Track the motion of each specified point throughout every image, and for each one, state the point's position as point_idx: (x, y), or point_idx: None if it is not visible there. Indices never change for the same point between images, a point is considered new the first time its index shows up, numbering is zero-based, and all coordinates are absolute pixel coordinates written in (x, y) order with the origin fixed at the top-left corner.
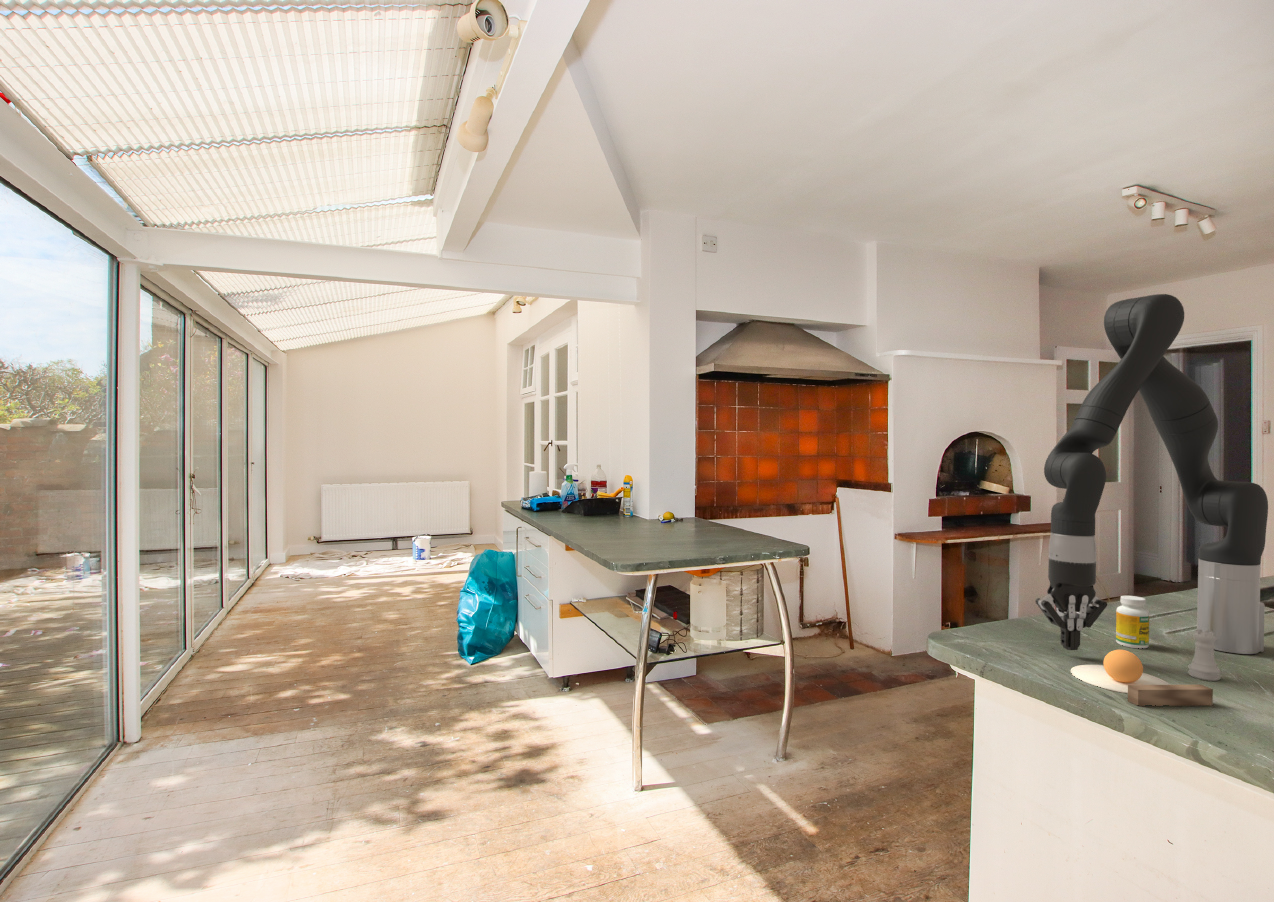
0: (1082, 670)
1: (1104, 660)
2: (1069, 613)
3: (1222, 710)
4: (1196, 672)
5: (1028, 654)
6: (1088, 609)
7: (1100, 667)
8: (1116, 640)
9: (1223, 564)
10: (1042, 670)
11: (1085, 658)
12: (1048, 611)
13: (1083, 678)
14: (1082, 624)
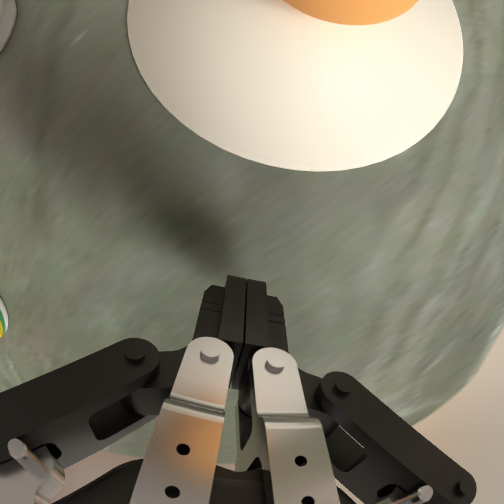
0: (379, 118)
1: (415, 3)
2: (321, 452)
3: None
4: (3, 16)
5: (369, 324)
6: (75, 447)
7: (255, 121)
8: (6, 326)
9: None
10: (481, 188)
11: (193, 246)
12: (441, 452)
13: (448, 65)
14: (185, 365)
